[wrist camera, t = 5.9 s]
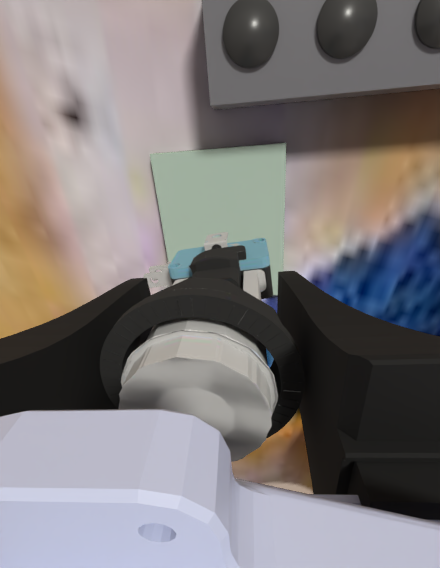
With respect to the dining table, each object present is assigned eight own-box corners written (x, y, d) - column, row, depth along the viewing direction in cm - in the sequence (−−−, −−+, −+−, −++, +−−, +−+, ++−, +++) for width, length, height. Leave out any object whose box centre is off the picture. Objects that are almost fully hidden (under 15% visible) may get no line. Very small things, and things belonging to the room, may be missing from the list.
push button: (165, 308, 17) (79, 488, 8) (139, 221, 15) (-16, 339, 6) (278, 296, 16) (316, 484, 7) (268, 200, 14) (307, 305, 5)
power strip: (610, -61, 13) (734, -124, 10) (558, 77, 15) (644, 62, 12) (205, -9, 14) (196, -49, 11) (214, 109, 17) (208, 104, 13)
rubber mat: (284, 142, 17) (286, 143, 17) (281, 290, 22) (282, 294, 21) (152, 153, 18) (149, 154, 17) (176, 295, 22) (174, 299, 22)
